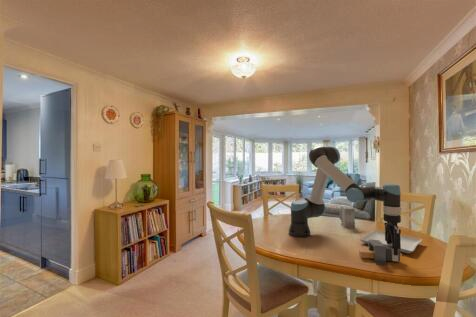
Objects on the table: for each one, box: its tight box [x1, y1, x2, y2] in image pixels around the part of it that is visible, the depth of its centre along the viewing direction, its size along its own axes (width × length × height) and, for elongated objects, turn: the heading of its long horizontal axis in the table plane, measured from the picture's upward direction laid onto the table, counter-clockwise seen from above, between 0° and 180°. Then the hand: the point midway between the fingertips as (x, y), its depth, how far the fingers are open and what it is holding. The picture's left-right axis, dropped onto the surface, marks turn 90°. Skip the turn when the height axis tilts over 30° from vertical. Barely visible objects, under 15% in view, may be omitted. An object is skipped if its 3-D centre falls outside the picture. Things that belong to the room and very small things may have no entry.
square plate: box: [359, 229, 423, 254], centre depth 142 cm, size 27×27×4 cm
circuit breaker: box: [338, 206, 356, 229], centre depth 183 cm, size 8×14×15 cm, turn 174°
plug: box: [358, 246, 403, 263], centre depth 120 cm, size 19×5×6 cm, turn 76°
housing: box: [368, 240, 389, 266], centre depth 120 cm, size 5×13×9 cm, turn 167°
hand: (392, 258), depth 118 cm, fingers closed on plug, 5 cm apart
